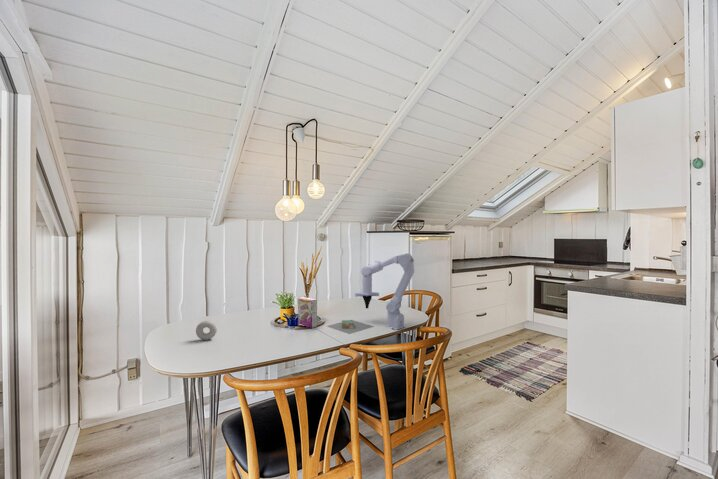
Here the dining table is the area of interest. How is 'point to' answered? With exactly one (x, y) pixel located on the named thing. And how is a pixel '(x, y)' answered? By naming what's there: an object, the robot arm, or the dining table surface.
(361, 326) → the rubber mat
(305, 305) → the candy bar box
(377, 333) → the dining table surface
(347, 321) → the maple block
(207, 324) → the donut
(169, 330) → the dining table surface
